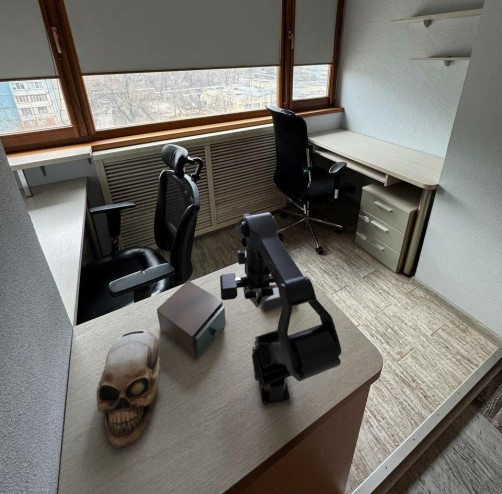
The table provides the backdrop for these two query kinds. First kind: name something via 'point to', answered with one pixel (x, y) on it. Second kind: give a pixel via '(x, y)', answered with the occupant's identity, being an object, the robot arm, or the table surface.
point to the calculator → (272, 300)
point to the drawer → (209, 331)
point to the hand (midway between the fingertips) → (257, 305)
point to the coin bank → (129, 385)
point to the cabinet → (186, 315)
